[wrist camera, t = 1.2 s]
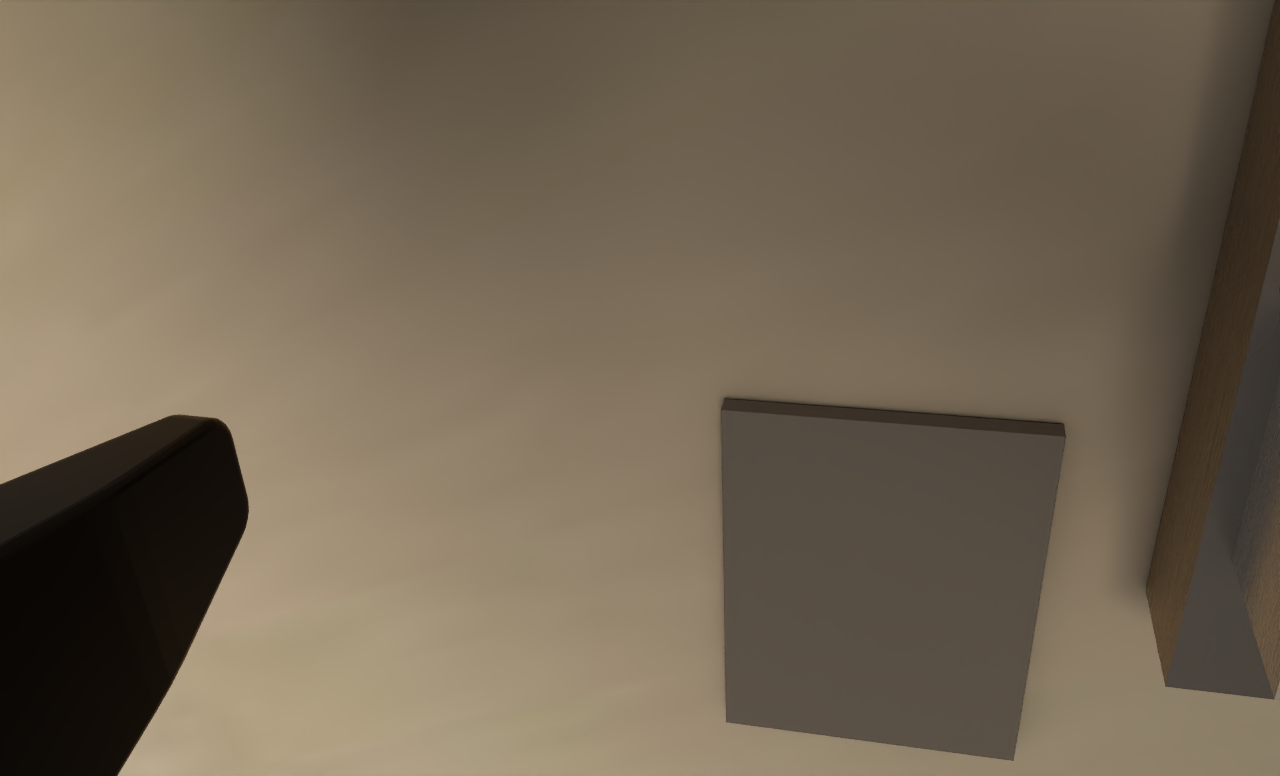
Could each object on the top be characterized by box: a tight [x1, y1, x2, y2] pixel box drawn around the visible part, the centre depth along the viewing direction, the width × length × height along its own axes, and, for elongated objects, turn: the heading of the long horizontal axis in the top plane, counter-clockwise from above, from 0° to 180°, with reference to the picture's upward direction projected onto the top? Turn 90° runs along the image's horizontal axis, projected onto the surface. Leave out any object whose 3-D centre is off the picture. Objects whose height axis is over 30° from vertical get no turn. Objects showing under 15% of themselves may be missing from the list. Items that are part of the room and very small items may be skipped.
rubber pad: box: [721, 399, 1066, 761], centre depth 23 cm, size 8×6×1 cm
